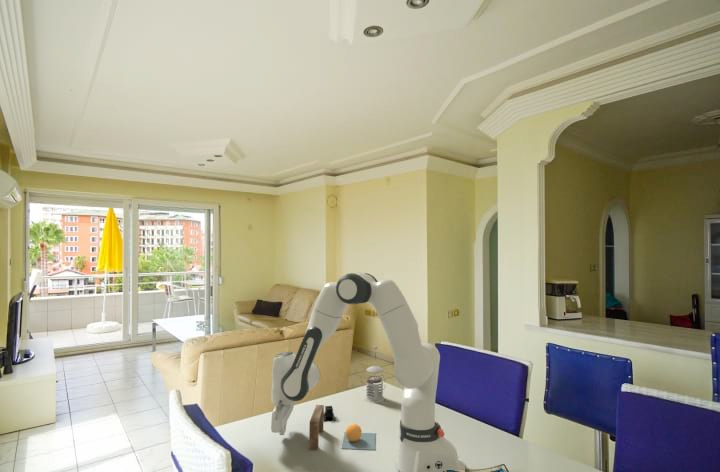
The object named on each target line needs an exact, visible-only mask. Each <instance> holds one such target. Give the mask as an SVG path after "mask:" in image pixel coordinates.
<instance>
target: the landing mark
mask: <svg viewBox="0 0 720 472" xmlns="http://www.w3.org/2000/svg"><path fill="white" fill-rule="evenodd" d="M341 450H361V451H362V450H365V451H376V433H374V432H372V433H371V432H362V434H361V437H360V439H359V440H358V441H356V442H352V441H349V440H348V439H347V437H346V431H345V432H344V433H343V439H342V445H341Z"/></svg>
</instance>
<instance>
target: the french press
mask: <svg viewBox="0 0 720 472" xmlns="http://www.w3.org/2000/svg"><path fill="white" fill-rule="evenodd" d="M372 348H373V349H374V350H377V349H378V346H376V345H374V346H373V347H372ZM365 370H366V372H368V373H370V374H381V373H382V372H383V371H384V369H383V368H382V367H380V366H378V365H372V366H369V367H367V368H366V369H365ZM383 379H384V380H383ZM384 381H386V379H385V377H384V375H383V374H381V375H370V376H367V380H366V391H365V392H366V394H365V397H364V398H363V399H364V401H366V403H367V402H368V403H371V404H376V403H377V404H378V403H382V402H384V401H385V397H384V396H383V395H384V394H383V393H384V392H383V391H384V390H385V388H386V386H384Z"/></svg>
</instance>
